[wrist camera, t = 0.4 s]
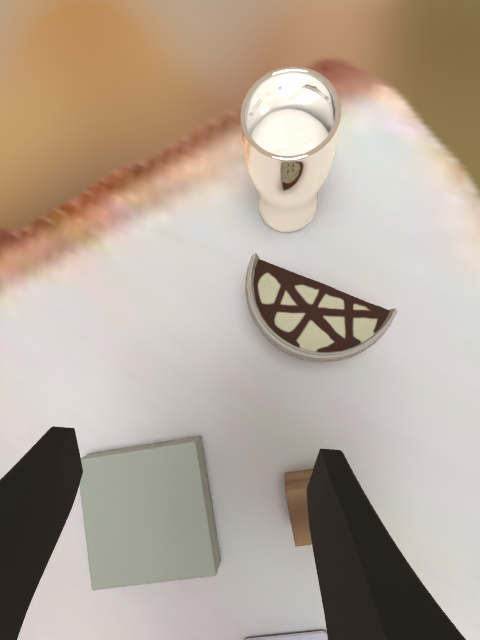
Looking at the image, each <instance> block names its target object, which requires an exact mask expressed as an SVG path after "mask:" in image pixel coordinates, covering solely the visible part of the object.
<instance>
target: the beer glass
mask: <svg viewBox="0 0 480 640" xmlns="http://www.w3.org/2000/svg"><path fill="white" fill-rule="evenodd" d="M340 117H341V104H340V99H339V96H338V94H337V92H336V90H335V88H334V86H333V85H332V84H331V83H330V81H329V80H328V79H326V78H325V77H324V76H323V75H321V74H320V73H318V72H316V71H314V70H311V69H308V68H304V67H285V68H280V69H277V70H274V71H272V72H269V73H268V74H266V75H264V76H263V77H261V79H259V80H258V81H257V82H256V83H255V84H254V85H253V86H252V87H251V88H250V90H249V91H248V93H247V95H246V96H245V99H244V101H243V104H242V108H241V126H242V143H243V151H244V158H245V162H246V166H247V170H248V173H249V175H250V177H251V180H252V182H253V184H254V185H255V187H256V189H257V191H258V192H259V194H260V197H259V212H260V215H261V217H262V219H263V220H264V222H265V223H266V224H267V225H268V226H269V227H271V228H272V229H274V230H277V231H280V232H294V231H297V230H300V229H302V228H303V227H305V226H306V225H307V224H308V223H309V222H310V221H311V220H312V219H313V217H314V215H315V213H316V210H317V196H316V193H317V192H318V191H319V189H320V188H321V186H322V184H323V183H324V181H325V179H326V177H327V175H328V173H329V171H330V169H331V166H332V162H333V159H334V156H335V151H336V146H337V140H338V131H339V122H340Z"/></svg>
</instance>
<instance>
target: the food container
mask: <svg viewBox="0 0 480 640" xmlns="http://www.w3.org/2000/svg"><path fill="white" fill-rule="evenodd" d="M246 298H247V304H248V307H249V310H250V313H251V316H252V318H253V320H254V322H255V324H256V325H257V327H258V328H259V330H260V331H261V332H262V334H263V335H264V336H265V337H266V338H267V339H268V340H269V341H270V342H271V343H272V344H273V345H275V346H276V347H277V348H279V349H280V350H282V351H284V352H286V353H287V354H289V355H291V356H294V357H297V358H300V359H303V360H308V361H314V362H331V361H338V360H343V359H346V358H349V357H352V356H354V355H356V354H358V353H361V352H363V351H364V350H366V349H367V348H369V347H370V346H371V345H373V344H374V343H375V342H376V341H377V340H378V339H379V338H380V337H381V336H382V335H383V334H384V333H385V331H386V330H387V329H388V327H389V326H390V325H391V323H392V321H393V319H394V317H395V315H396V313H397V311H396V309H391V310H387V309H384V308H382V307H380V306H376V305H373V304H370V303H368V302H365V301H363V300H360V299H358V298H356V297H353V296H351V295H348V294H346V293H343V292H341V291H339V290H336V289H334V288H332V287H329V286H327V285H325V284H322V283H320V282H317V281H314V280H311V279H309V278H306V277H303V276H301V275H298V274H296V273H293V272H290V271H288V270H285V269H283V268H280V267H278V266H275V265H273V264H270V263H267V262H265V261H262V260H260V259H259V257H258V256H257V254H256V253H255V255H254V254H253V255H252V257H251V260H250V263H249V266H248V270H247V275H246Z"/></svg>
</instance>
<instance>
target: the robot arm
mask: <svg viewBox="0 0 480 640" xmlns="http://www.w3.org/2000/svg"><path fill="white" fill-rule="evenodd" d="M82 474H83V468H82V463H81V458H80V453H79V449H78V444H77V439H76V434H75V429H74V428H64V427H52V428H50V429H49V430H48V431H47V432H46V433H45V434H44V435H43V436H42V438H41V439H40V440H39V441H38V442H37V443H36V444H35V445H34V446H33V447H32V448H31V449H30V450H29V451H28V452H27V453H26V454H25V455H24V456H23V457H22V458H21V460H20V461H19V462H18V463H17V464H16V465H15V466H14V467H13V468H12V469H11V470H10V471H9V472H8V473H7V474H6V475H5V476H4V477H3V478H2V479H1V480H0V640H17V638H18V635H19V632H20V629H21V626H22V624H23V621H24V618H25V615H26V612H27V610H28V607H29V605H30V602H31V600H32V597H33V595H34V593H35V590H36V588H37V586H38V584H39V581H40V579H41V577H42V575H43V572H44V570H45V568H46V566H47V563H48V561H49V559H50V557H51V554H52V552H53V550H54V548H55V545H56V543H57V541H58V539H59V536H60V534H61V532H62V529H63V527H64V525H65V523H66V520H67V518H68V516H69V513H70V511H71V509H72V506H73V503H74V500H75V497H76V494H77V491H78V488H79V484H80V481H81V478H82ZM307 505H308V519H309V528H310V534H311V540H312V546H313V552H314V557H315V563H316V569H317V574H318V580H319V585H320V591H321V597H322V602H323V608H324V614H325V621H326V628H327V633H326V632H325V631H315V632H305V633H295V634H286V635H276V636H266V637H256V638H247V639H245V640H466V639H465V638H464V637H463V636H462V634H461V633H460V632H459V631H458V629H457V628H456V627H455V626H454V624H453V623H452V622H451V621H450V619H449V618H448V617H447V615H446V614H445V613H444V612H443V610H442V609H441V608H440V606H439V605H438V604H437V602H436V601H435V600H434V598H433V597H432V596H431V594H430V593H429V592H428V590H427V589H426V588H425V586H424V585H423V583H422V582H421V581H420V579H419V578H418V577H417V575H416V574H415V572H414V571H413V569H412V568H411V566H410V565H409V564H408V562H407V561H406V559H405V558H404V556H403V555H402V553H401V552H400V550H399V549H398V547H397V546H396V544H395V542H394V541H393V539H392V538H391V536H390V535H389V533H388V531H387V530H386V528H385V527H384V525H383V523H382V522H381V520H380V518H379V517H378V515H377V513H376V512H375V510H374V509H373V507H372V505H371V503H370V502H369V500H368V498H367V496H366V495H365V493H364V491H363V489H362V488H361V486H360V484H359V482H358V480H357V479H356V477H355V475H354V473H353V471H352V469H351V467H350V465H349V464H348V462H347V460H346V458H345V456H344V454H343V452H342V451H341V450H331V449H320V451H319V454H318V457H317V460H316V463H315V466H314V469H313V472H312V474H311V477H310V480H309V483H308V486H307Z"/></svg>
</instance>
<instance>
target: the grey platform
mask: <svg viewBox="0 0 480 640" xmlns="http://www.w3.org/2000/svg"><path fill="white" fill-rule="evenodd" d="M81 463H82V468H83V474H82V478H81V481H80V492H81V500H82V509H83V517H84V526H85V534H86V543H87V551H88V560H89V568H90V576H91V585H92V590H99V589H108V588H116V587H124V586H132V585H141V584H149V583H157V582H165V581H174V580H182V579H190V578H198V577H207V576H215V575H216V574H217V570H218V567H219V564H220V561H221V560H220V554H219V547H218V541H217V535H216V528H215V522H214V516H213V509H212V503H211V496H210V490H209V484H208V477H207V471H206V465H205V458H204V452H203V446H202V439H201V436H198V437H192V438H186V439H179V440H173V441H167V442H160V443H154V444H148V445H141V446H135V447H129V448H122V449H116V450H110V451H103V452H97V453H91V454H88V455H86V456H84V457H82V458H81Z"/></svg>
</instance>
